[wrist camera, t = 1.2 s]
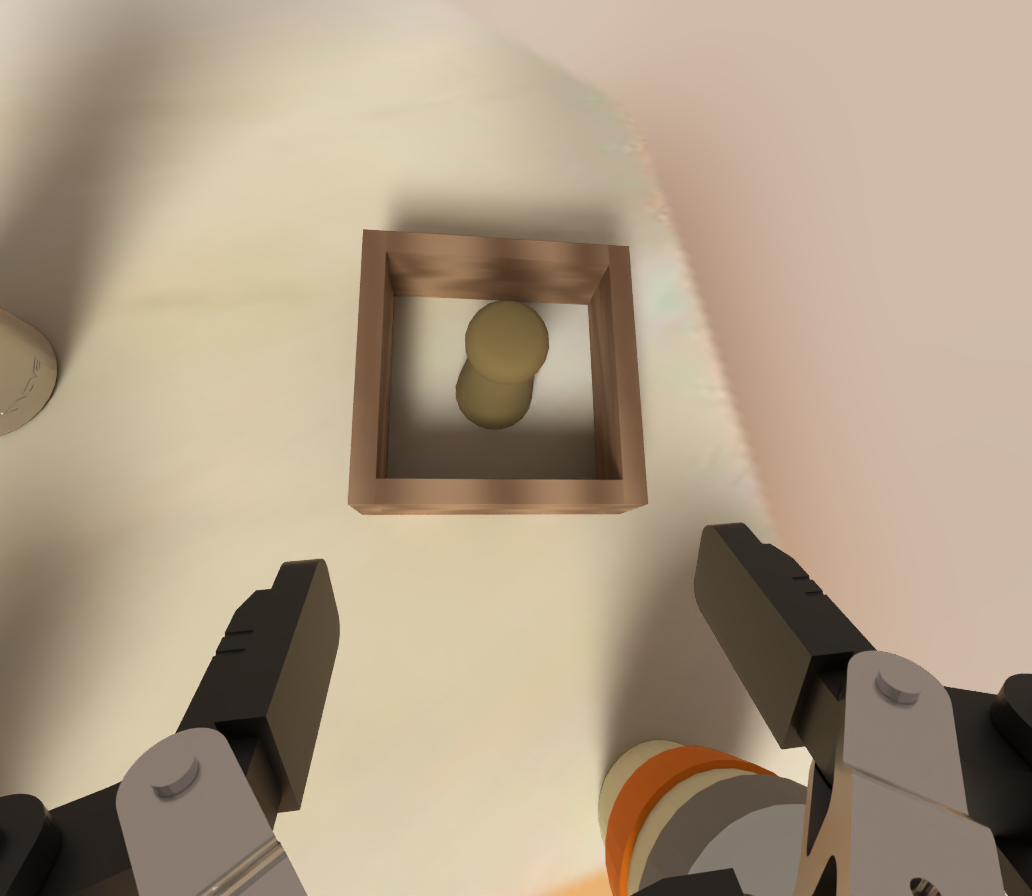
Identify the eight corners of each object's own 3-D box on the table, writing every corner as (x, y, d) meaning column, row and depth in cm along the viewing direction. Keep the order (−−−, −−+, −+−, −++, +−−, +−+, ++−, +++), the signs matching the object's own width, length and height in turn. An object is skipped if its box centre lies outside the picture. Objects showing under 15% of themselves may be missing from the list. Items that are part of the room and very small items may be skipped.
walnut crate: (362, 514, 38) (347, 504, 33) (374, 276, 43) (363, 229, 37) (619, 514, 41) (648, 503, 35) (605, 288, 45) (628, 246, 39)
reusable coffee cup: (549, 746, 36) (617, 859, 22) (711, 687, 39) (869, 754, 24) (604, 952, 34) (722, 1231, 20) (774, 876, 36) (991, 1076, 22)
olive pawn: (492, 342, 43) (507, 265, 32) (547, 392, 42) (581, 331, 32) (439, 392, 41) (437, 329, 31) (495, 445, 41) (513, 399, 30)
